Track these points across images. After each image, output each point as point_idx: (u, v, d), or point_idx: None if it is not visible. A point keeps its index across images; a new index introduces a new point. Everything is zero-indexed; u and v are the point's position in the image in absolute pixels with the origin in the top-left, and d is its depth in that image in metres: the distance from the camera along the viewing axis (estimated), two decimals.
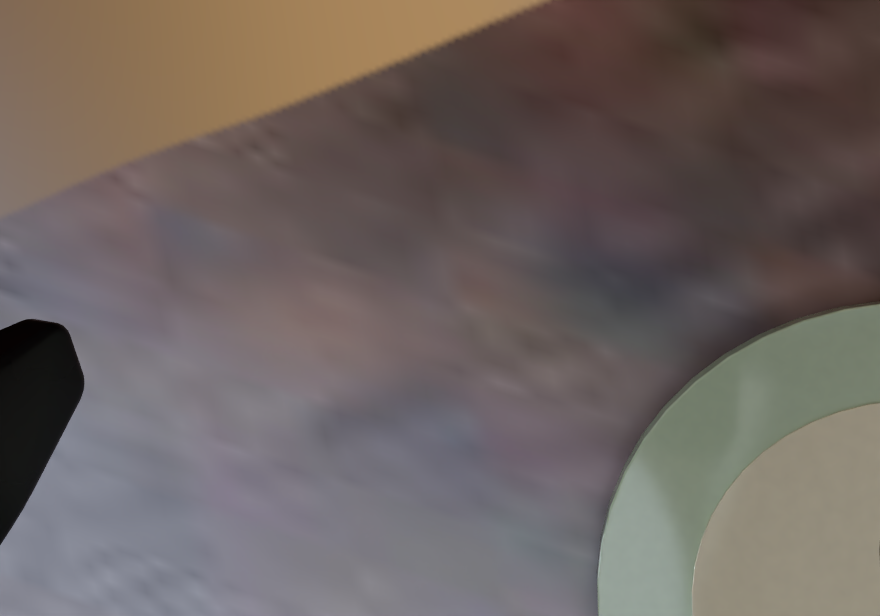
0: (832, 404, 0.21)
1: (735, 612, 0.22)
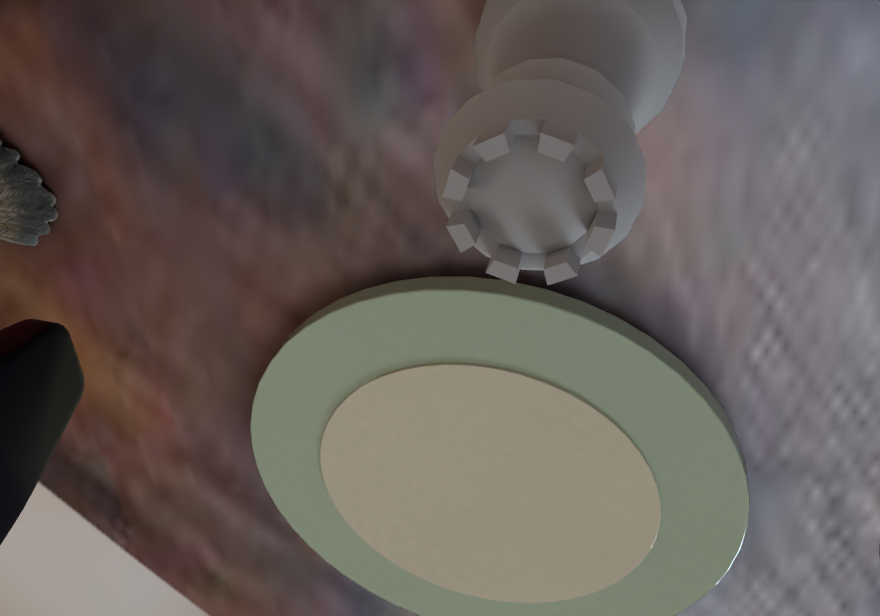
0: (367, 546, 0.29)
1: (537, 579, 0.28)
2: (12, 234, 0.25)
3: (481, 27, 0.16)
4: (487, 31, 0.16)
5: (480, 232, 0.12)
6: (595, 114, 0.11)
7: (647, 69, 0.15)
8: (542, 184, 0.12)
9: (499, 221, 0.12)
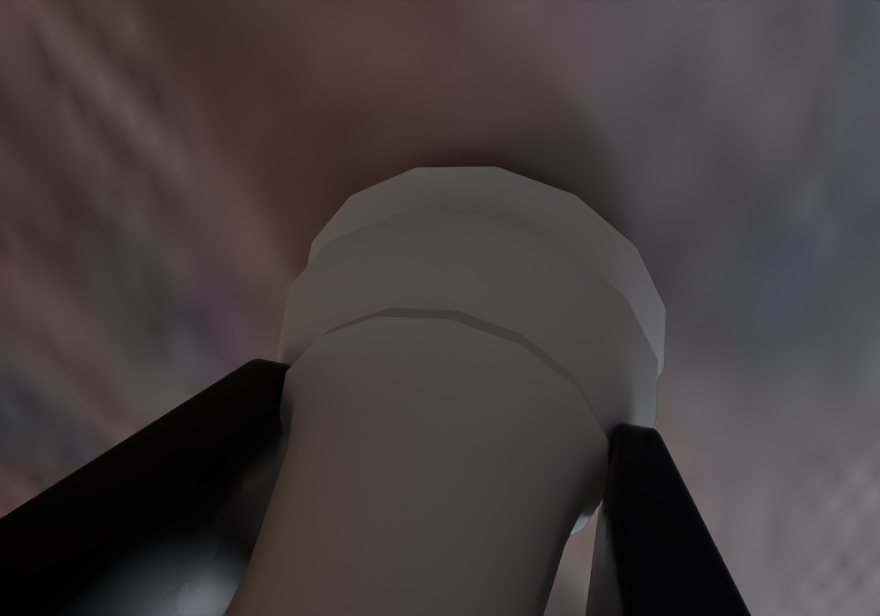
0: None
1: None
2: None
3: (280, 337, 0.09)
4: (287, 352, 0.09)
5: None
6: None
7: (583, 471, 0.07)
8: None
9: None
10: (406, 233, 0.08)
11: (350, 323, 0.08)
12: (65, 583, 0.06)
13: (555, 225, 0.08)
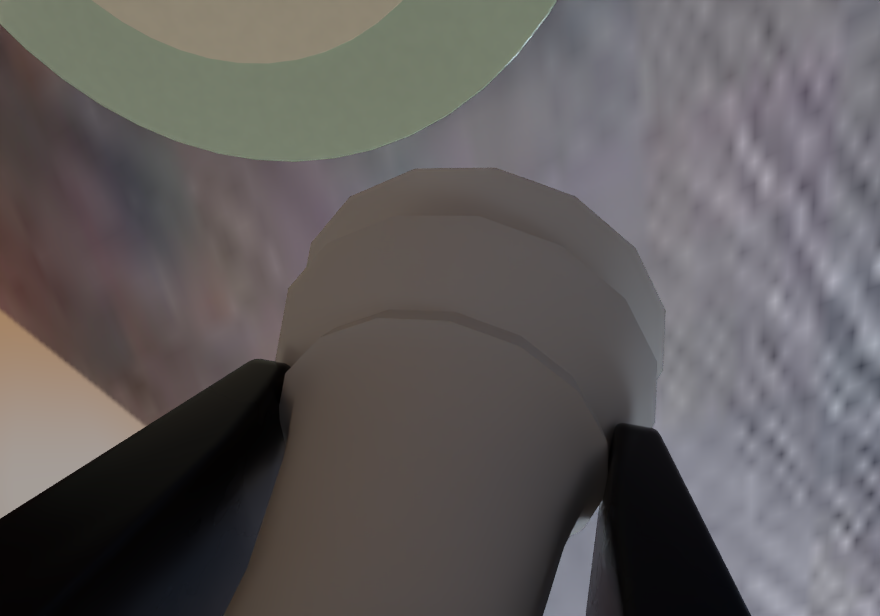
0: None
1: None
2: None
3: (279, 339, 0.09)
4: (286, 354, 0.09)
5: None
6: None
7: (583, 472, 0.07)
8: None
9: None
10: (405, 234, 0.08)
11: (347, 325, 0.08)
12: (66, 583, 0.06)
13: (554, 226, 0.08)
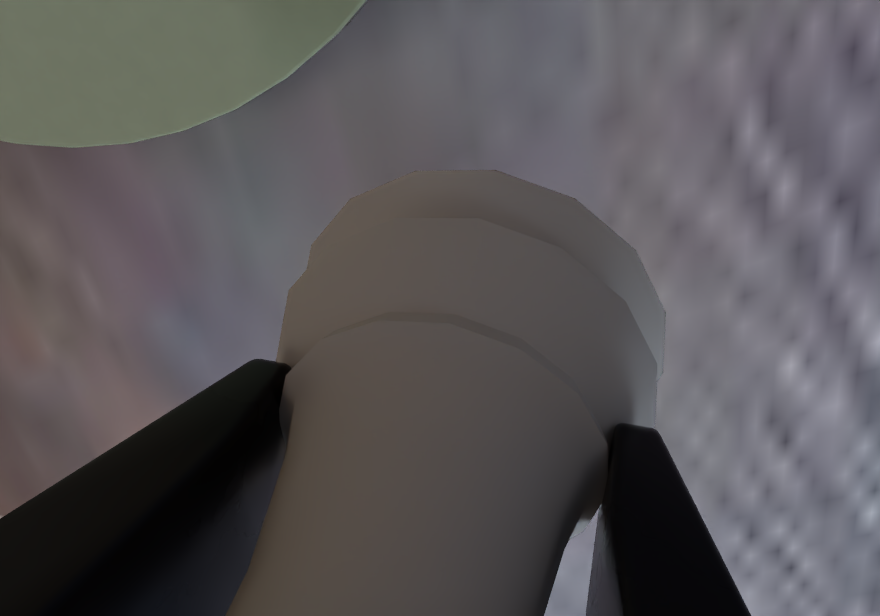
0: None
1: None
2: None
3: (280, 341, 0.09)
4: (286, 356, 0.09)
5: None
6: None
7: (582, 475, 0.07)
8: None
9: None
10: (405, 237, 0.08)
11: (347, 327, 0.08)
12: (65, 583, 0.06)
13: (554, 229, 0.08)
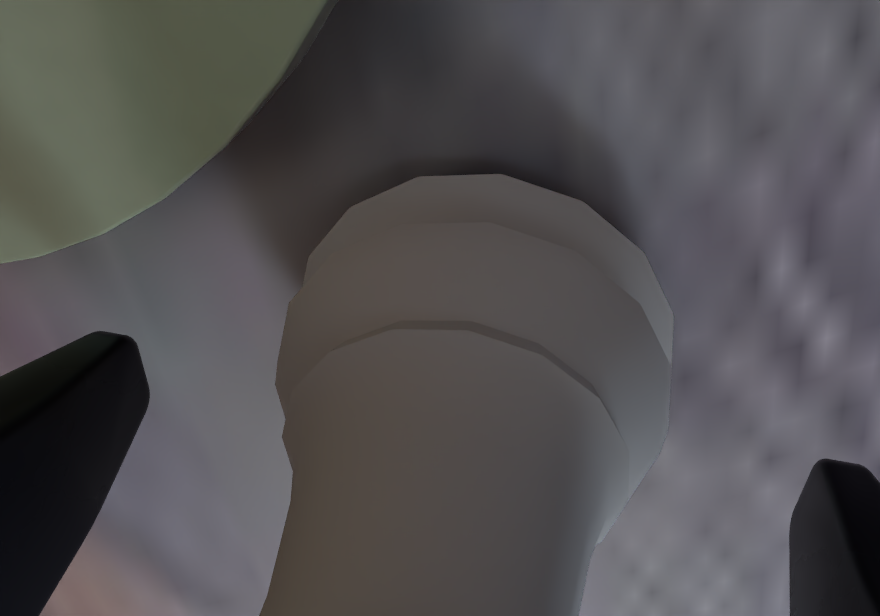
0: None
1: None
2: None
3: (281, 355, 0.08)
4: (289, 370, 0.08)
5: None
6: None
7: (605, 483, 0.07)
8: None
9: None
10: (415, 243, 0.07)
11: (359, 337, 0.07)
12: None
13: (563, 232, 0.08)
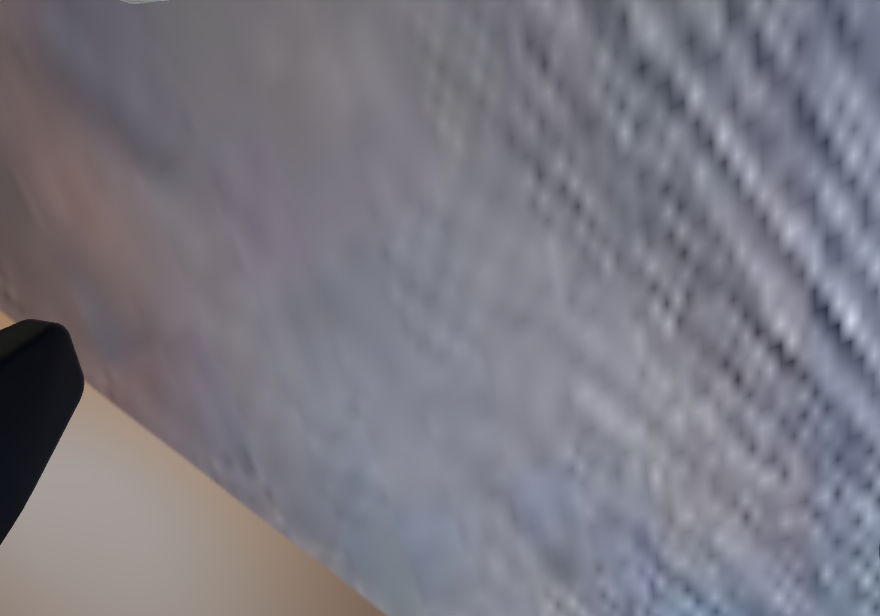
0: None
1: None
2: None
3: None
4: None
5: None
6: None
7: None
8: None
9: None
10: None
11: None
12: None
13: None
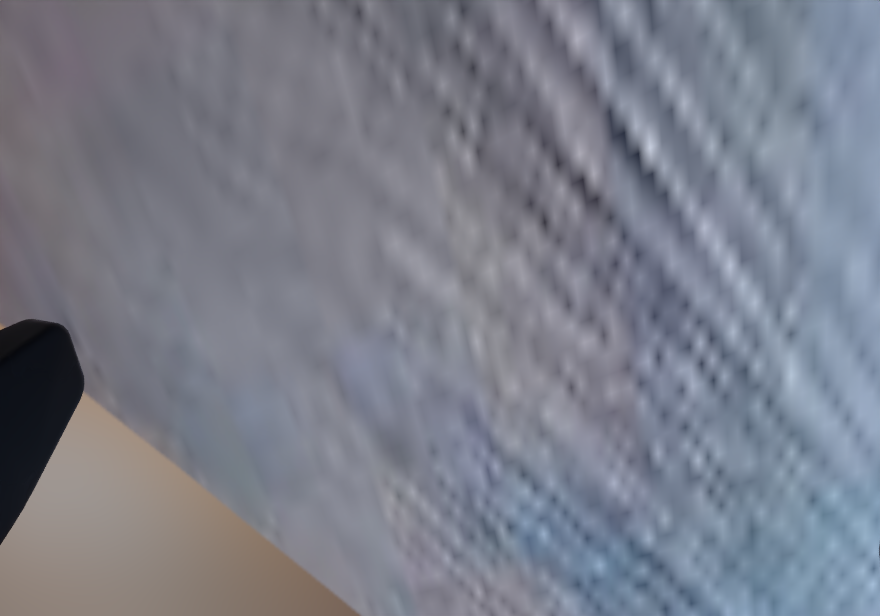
0: None
1: None
2: None
3: None
4: None
5: None
6: None
7: None
8: None
9: None
10: None
11: None
12: None
13: None
